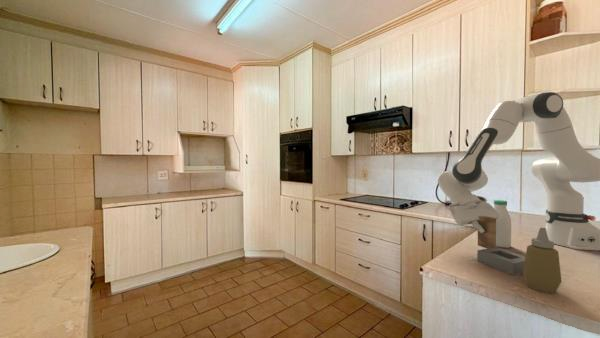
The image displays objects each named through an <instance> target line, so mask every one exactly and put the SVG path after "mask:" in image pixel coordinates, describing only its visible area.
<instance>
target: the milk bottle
mask: <svg viewBox="0 0 600 338" xmlns="http://www.w3.org/2000/svg"><path fill="white" fill-rule="evenodd" d="M493 206H494V207H493V208H494V209H495V210H496V211H497V213H498V214H499V218H498V219H497V220H496V247H497V248H501V249H503V248H504V249H505V248H507V249H509V248H511V246H512V218H511V215H510V214H509V212H508V210H507V209H508V208H507V206H508V201H507V200H503V199H495V200H493Z"/></svg>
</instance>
